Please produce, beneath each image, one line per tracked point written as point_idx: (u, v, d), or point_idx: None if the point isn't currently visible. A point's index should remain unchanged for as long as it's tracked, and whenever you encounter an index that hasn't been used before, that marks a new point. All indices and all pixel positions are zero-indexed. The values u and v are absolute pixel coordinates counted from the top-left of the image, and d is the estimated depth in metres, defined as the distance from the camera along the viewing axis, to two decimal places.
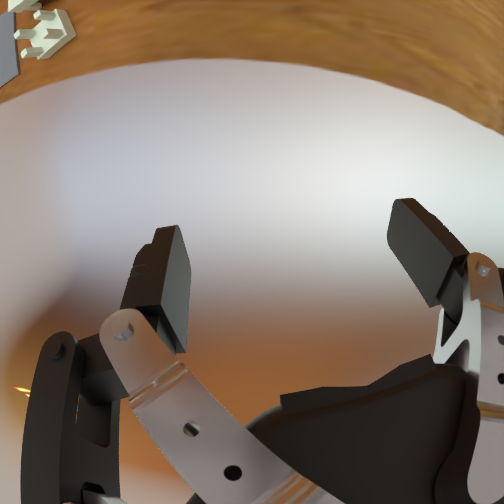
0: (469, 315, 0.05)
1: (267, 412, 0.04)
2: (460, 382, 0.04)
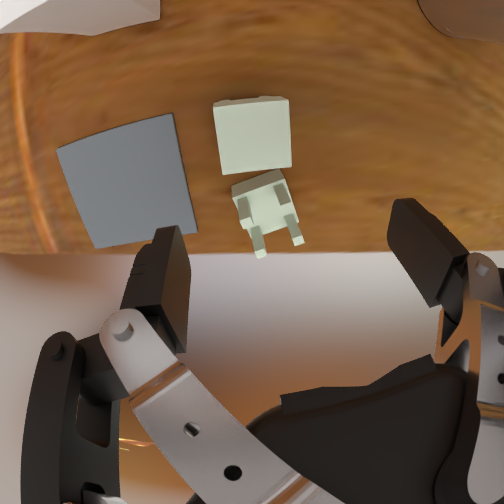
0: (469, 315, 0.05)
1: (267, 412, 0.04)
2: (460, 382, 0.04)
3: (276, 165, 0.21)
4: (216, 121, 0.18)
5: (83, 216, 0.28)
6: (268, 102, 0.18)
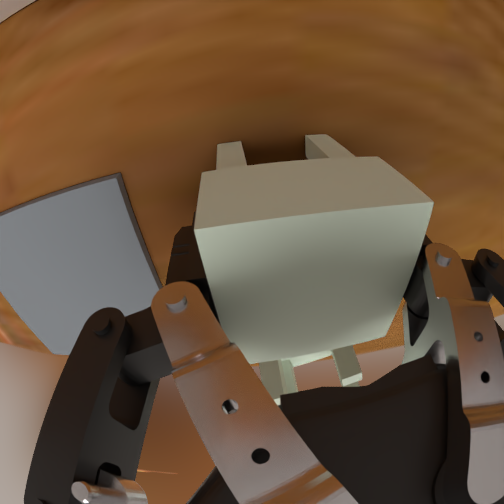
0: (438, 314, 0.05)
1: None
2: None
3: (356, 340, 0.09)
4: (210, 270, 0.06)
5: (25, 320, 0.16)
6: (384, 209, 0.05)
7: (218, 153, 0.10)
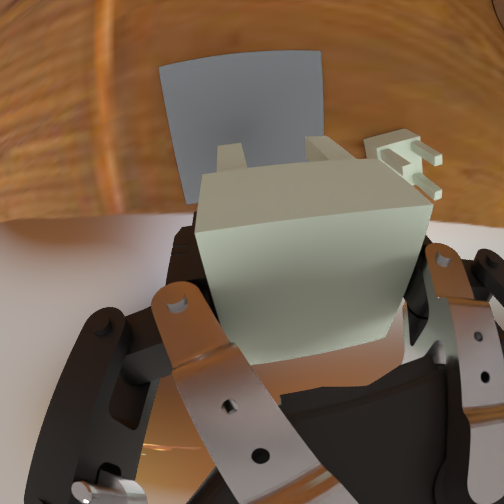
0: (438, 314, 0.05)
1: None
2: None
3: (356, 341, 0.09)
4: (211, 273, 0.06)
5: (180, 158, 0.24)
6: (384, 212, 0.05)
7: (218, 155, 0.10)
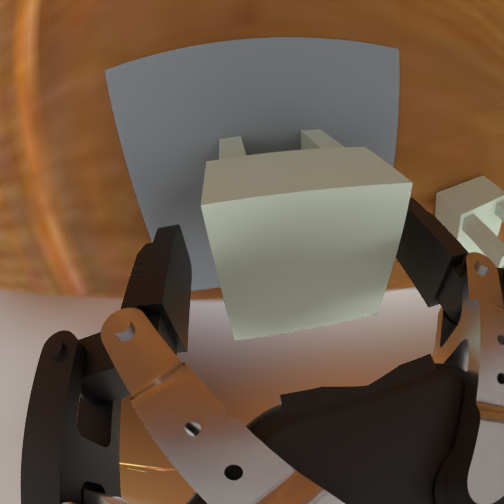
0: (468, 315, 0.05)
1: (267, 412, 0.04)
2: (460, 382, 0.04)
3: (349, 317, 0.09)
4: (214, 242, 0.07)
5: (154, 230, 0.14)
6: (366, 188, 0.06)
7: (220, 146, 0.11)
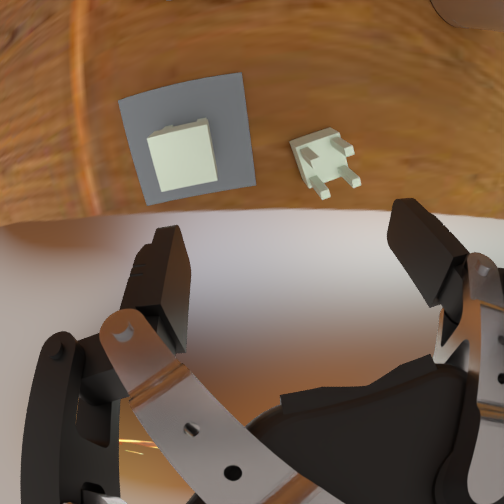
0: (469, 315, 0.05)
1: (267, 412, 0.04)
2: (460, 382, 0.04)
3: (204, 180, 0.25)
4: (150, 149, 0.22)
5: (139, 169, 0.30)
6: (190, 128, 0.22)
7: (163, 128, 0.26)
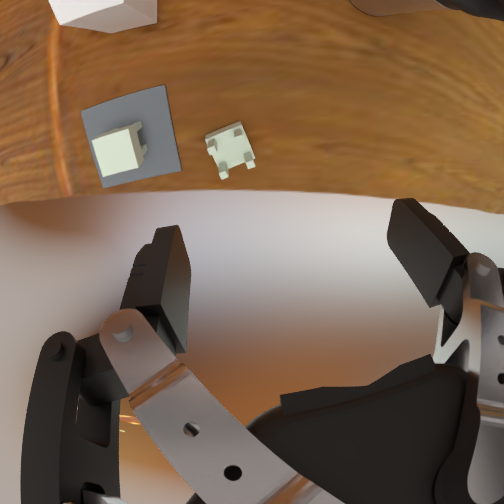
0: (469, 315, 0.05)
1: (267, 412, 0.04)
2: (460, 382, 0.04)
3: (129, 167, 0.32)
4: (94, 147, 0.29)
5: (96, 161, 0.37)
6: (117, 132, 0.29)
7: None
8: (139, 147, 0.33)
